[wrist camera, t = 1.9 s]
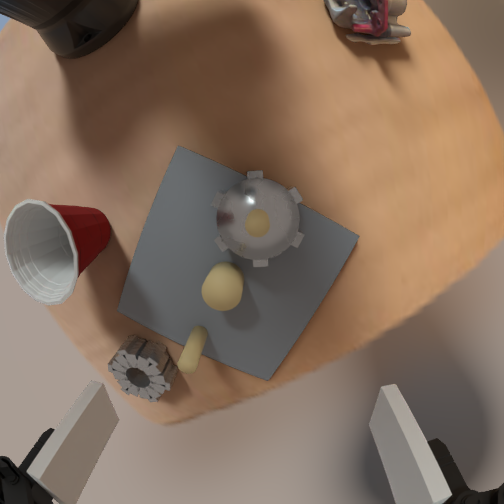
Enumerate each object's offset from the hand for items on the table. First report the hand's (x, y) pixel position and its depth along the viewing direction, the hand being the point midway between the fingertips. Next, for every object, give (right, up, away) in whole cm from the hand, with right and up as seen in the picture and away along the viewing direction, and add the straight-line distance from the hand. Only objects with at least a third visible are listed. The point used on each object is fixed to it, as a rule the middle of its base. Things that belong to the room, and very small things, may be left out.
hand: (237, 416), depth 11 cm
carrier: (-2, +5, +22) cm, 22 cm away
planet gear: (-15, -9, +26) cm, 31 cm away
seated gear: (+1, +11, +18) cm, 22 cm away
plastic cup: (-20, +10, +21) cm, 31 cm away
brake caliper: (+14, +38, +13) cm, 43 cm away
